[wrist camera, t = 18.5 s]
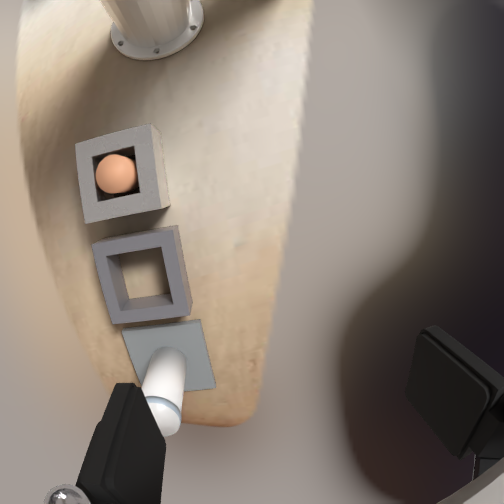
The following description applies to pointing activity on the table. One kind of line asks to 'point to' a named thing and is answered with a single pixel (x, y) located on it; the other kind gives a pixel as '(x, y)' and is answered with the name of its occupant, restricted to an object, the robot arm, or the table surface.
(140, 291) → the table surface
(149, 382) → the cylinder
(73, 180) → the table surface
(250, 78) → the table surface
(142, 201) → the frame
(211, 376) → the slate mat
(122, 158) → the release button
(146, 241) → the frame
